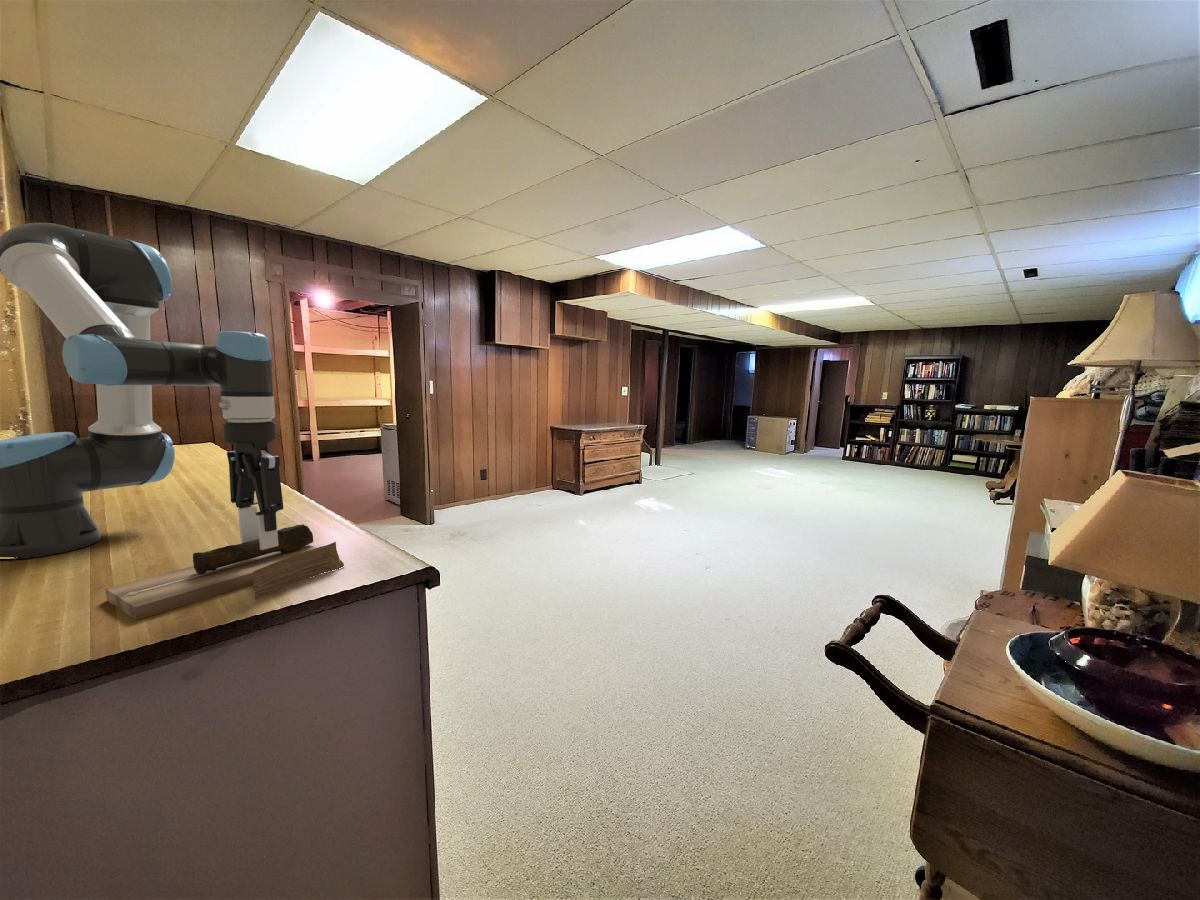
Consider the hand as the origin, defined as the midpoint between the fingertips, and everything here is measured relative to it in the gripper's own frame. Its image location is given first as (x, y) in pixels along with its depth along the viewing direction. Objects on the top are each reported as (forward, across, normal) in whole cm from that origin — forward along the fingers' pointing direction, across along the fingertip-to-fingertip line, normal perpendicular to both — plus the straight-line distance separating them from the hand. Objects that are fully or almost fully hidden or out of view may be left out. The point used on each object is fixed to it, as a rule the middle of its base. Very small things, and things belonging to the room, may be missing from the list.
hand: (259, 543), depth 86 cm
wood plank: (+5, +12, +1) cm, 13 cm away
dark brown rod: (+3, 0, 0) cm, 3 cm away
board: (+5, 0, -5) cm, 7 cm away
